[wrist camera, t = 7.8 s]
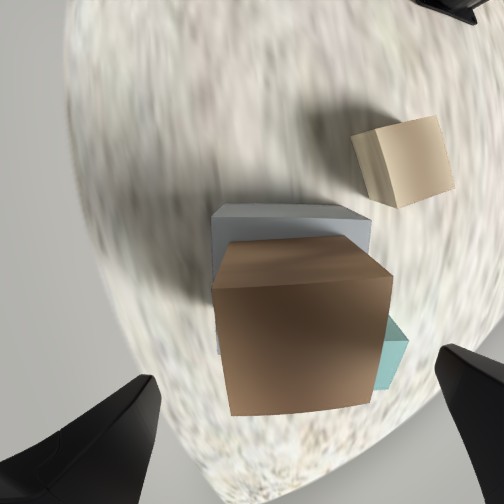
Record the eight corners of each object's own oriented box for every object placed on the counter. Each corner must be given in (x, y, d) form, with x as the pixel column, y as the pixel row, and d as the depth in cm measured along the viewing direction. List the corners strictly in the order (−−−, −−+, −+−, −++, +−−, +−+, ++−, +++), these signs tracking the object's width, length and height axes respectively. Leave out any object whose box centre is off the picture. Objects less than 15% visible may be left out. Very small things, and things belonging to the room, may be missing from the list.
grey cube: (341, 205, 17) (371, 220, 12) (331, 309, 19) (351, 352, 14) (224, 202, 17) (210, 217, 12) (227, 309, 19) (217, 354, 14)
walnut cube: (344, 235, 12) (393, 276, 7) (339, 333, 13) (369, 402, 9) (229, 241, 12) (211, 288, 7) (239, 340, 14) (231, 415, 9)
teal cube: (385, 310, 18) (409, 340, 15) (370, 355, 20) (388, 389, 16) (334, 308, 18) (350, 341, 15) (322, 356, 20) (333, 392, 16)
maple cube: (402, 123, 15) (436, 115, 11) (419, 182, 16) (455, 188, 12) (349, 136, 15) (375, 129, 11) (369, 199, 16) (397, 208, 13)
